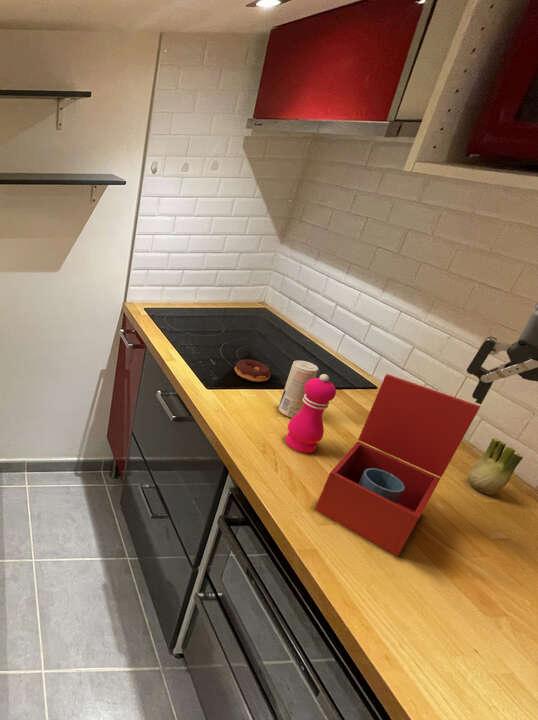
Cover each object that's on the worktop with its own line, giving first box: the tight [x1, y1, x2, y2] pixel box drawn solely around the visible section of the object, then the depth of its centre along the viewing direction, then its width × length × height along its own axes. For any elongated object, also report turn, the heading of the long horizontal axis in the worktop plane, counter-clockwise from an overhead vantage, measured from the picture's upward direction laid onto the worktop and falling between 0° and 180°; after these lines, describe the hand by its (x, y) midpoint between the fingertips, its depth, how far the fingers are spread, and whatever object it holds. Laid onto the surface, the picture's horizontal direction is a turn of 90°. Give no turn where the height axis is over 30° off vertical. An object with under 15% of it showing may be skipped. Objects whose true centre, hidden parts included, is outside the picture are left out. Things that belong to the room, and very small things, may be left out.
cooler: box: [314, 440, 441, 557], centre depth 88 cm, size 16×14×10 cm
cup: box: [359, 468, 405, 504], centre depth 88 cm, size 6×6×8 cm
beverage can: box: [277, 360, 319, 419], centre depth 118 cm, size 6×6×15 cm
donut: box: [234, 359, 272, 383], centre depth 138 cm, size 10×10×4 cm
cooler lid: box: [357, 373, 481, 478], centre depth 88 cm, size 16×14×5 cm
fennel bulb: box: [467, 437, 524, 496], centre depth 94 cm, size 6×5×12 cm
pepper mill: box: [285, 373, 337, 454], centre depth 105 cm, size 7×7×20 cm
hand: (517, 414), depth 68 cm, fingers open, 8 cm apart
